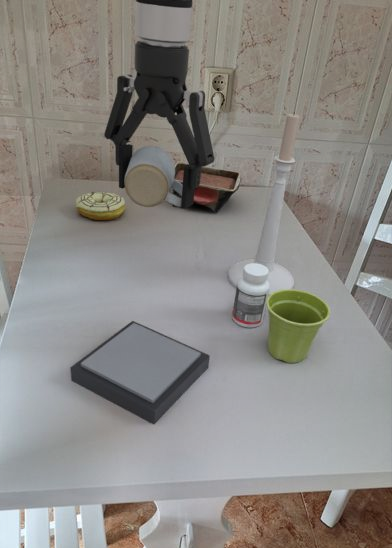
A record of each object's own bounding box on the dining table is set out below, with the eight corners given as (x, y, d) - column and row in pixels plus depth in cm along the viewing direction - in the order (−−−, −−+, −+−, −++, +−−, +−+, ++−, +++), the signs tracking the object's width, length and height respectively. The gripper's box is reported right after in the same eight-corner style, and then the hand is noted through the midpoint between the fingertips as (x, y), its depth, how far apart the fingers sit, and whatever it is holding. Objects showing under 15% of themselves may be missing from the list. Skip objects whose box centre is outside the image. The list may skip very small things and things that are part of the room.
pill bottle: (238, 307, 86) (247, 257, 80) (267, 316, 84) (278, 266, 78) (226, 322, 82) (234, 271, 76) (256, 332, 81) (266, 281, 75)
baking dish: (223, 227, 116) (236, 187, 110) (154, 202, 117) (163, 160, 112) (235, 210, 128) (247, 173, 122) (172, 187, 129) (181, 149, 123)
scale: (69, 379, 68) (68, 363, 66) (130, 332, 78) (131, 316, 76) (154, 424, 63) (155, 408, 61) (208, 367, 72) (210, 352, 71)
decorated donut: (90, 200, 117) (89, 185, 114) (131, 209, 115) (132, 194, 112) (68, 216, 109) (67, 200, 106) (113, 226, 107) (112, 209, 104)
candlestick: (232, 258, 100) (257, 98, 81) (294, 269, 99) (333, 109, 80) (223, 290, 90) (249, 115, 71) (292, 302, 89) (337, 128, 70)
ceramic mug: (122, 207, 77) (123, 158, 73) (129, 188, 84) (130, 142, 79) (188, 215, 78) (193, 166, 73) (190, 196, 84) (195, 150, 80)
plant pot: (276, 376, 72) (288, 329, 67) (246, 339, 79) (255, 293, 73) (327, 364, 76) (343, 318, 70) (295, 329, 82) (306, 285, 77)
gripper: (251, 54, 66) (229, 208, 79) (109, 27, 74) (111, 171, 87) (226, 59, 61) (207, 223, 74) (76, 29, 69) (84, 182, 82)
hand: (155, 195), depth 81 cm, fingers closed on ceramic mug, 11 cm apart
